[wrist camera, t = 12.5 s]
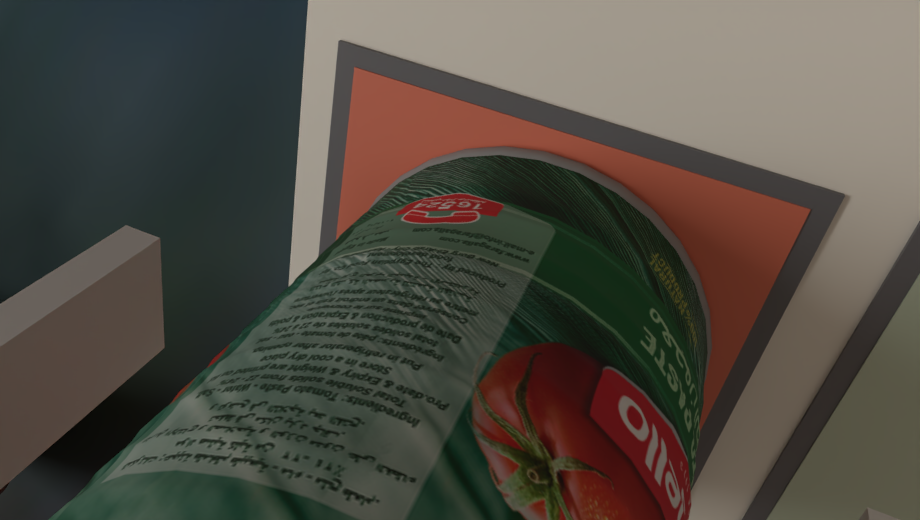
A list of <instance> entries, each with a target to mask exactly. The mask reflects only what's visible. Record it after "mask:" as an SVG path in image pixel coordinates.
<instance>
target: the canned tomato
mask: <svg viewBox="0 0 920 520" xmlns="http://www.w3.org/2000/svg"><path fill="white" fill-rule="evenodd" d="M711 350H712V338H711V321H710V309H709V306H708V302H707V299H706V296H705V292H704V289H703V286H702V282H701V279H700V276H699V273H698V272H697V270H696V268H695V266H694V264H693V263H692V261H691V259H690V257H689V255H688V254H687V252H686V250H685V248H684V246H683V245H682V243H681V241H680V240H679V239H678V237H677V236H676V235H675V234H674V233H673V232H672V230H671V229H670V228H669V227H668V226H667V225H666V223H665V222H664V221H663V220H662V219H661V218H660V216H659V215H658V214H657V213H656V212H655V211H654V210H653V209H652V208H651V207H650V206H648V205H647V204H646V203H645V202H643V201H642V200H641V199H640V198H638V197H637V196H636V195H635V194H633V193H632V192H631V191H630V190H628V189H627V188H626V187H625V186H623V185H622V184H621V183H619V182H617V181H615V180H613V179H611V178H609V177H608V176H606V175H604V174H602V173H600V172H598V171H596V170H595V169H593V168H591V167H589V166H587V165H585V164H583V163H580V162H577V161H574V160H571V159H567V158H564V157H561V156H558V155H555V154H552V153H549V152H546V151H540V150H532V149H524V148H516V147H508V146H497V147H482V148H468V149H463V150H460V151H456V152H453V153H449V154H446V155H442V156H439V157H435V158H432V159H430V160H428V161H426V162H425V163H423V164H421V165H419V166H417V167H415V168H414V169H412V170H410V171H408V172H406V173H404V174H403V175H401V176H400V177H399V178H398V179H396V180H395V181H394V182H393V183H392V184H391V185H390V186H389V187H388V188H386V189H385V190H384V191H383V192H382V193H381V194H380V195H379V196H378V197H377V198H376V199H375V201H374V202H373V204H372V205H371V207H370V208H369V210H368V211H367V212H366V213H364V214H363V215H362V216H361V217H360V218H359V219H358V220H357V221H355V222H354V223H353V224H352V225H351V226H350V227H349V228H348V229H347V230H345V231H344V232H343V233H342V234H341V235H340V236H339V237H338V239H337V240H336V241H335V242H334V243H333V244H332V245H330V246H329V247H328V248H327V249H326V250H325V251H324V252H323V253H322V254H320V255H319V256H318V258H317V259H316V261H315V262H313V263H312V264H311V265H310V266H309V267H308V268H307V269H306V270H305V271H303V272H302V273H301V274H300V275H299V276H298V277H297V278H296V279H295V281H294V282H293V283H292V284H291V285H290V286H289V287H288V288H287V289H285V290H284V291H283V292H282V293H281V294H280V295H279V296H278V297H277V298H275V299H274V300H273V301H272V302H271V303H270V305H269V307H268V308H267V309H266V310H264V311H263V312H262V313H261V314H260V315H259V316H258V317H257V318H255V319H254V320H253V321H252V322H251V323H250V324H249V325H248V326H247V327H245V328H244V329H243V331H242V332H241V334H240V335H239V336H238V337H237V338H236V339H235V340H234V341H233V342H231V343H230V344H229V345H228V346H227V347H226V348H225V349H224V350H222V351H221V352H220V353H219V354H218V355H217V356H216V357H215V358H213V360H212V361H211V363H210V364H209V366H208V367H207V368H206V369H204V370H203V371H202V372H201V373H200V374H199V375H198V376H197V377H195V378H194V379H193V380H192V381H191V382H190V383H189V384H187V385H186V386H185V387H184V388H183V389H182V390H181V391H180V392H179V393H178V394H177V396H176V397H175V398H174V400H173V401H172V402H171V403H170V404H169V405H168V406H167V407H166V408H164V409H163V410H162V411H161V412H160V413H159V414H158V415H156V416H155V417H154V418H153V419H152V420H151V421H150V422H148V423H147V424H146V425H145V426H144V427H143V428H142V429H140V431H139V432H138V433H137V435H136V436H135V437H134V439H133V440H132V441H131V442H130V443H129V445H128V446H127V447H126V448H125V449H123V450H122V451H120V452H119V453H118V454H117V455H116V456H115V457H114V458H112V459H111V460H110V461H109V462H108V463H107V464H105V465H104V466H103V467H102V468H101V469H100V470H99V471H97V472H96V473H95V475H94V476H93V477H92V479H91V480H90V481H89V483H88V484H87V485H86V486H85V487H84V488H83V490H82V491H81V492H80V493H79V494H78V495H77V496H76V497H75V498H74V499H72V500H71V501H70V502H68V503H67V504H66V505H65V506H64V507H62V508H61V509H60V510H59V511H58V512H57V513H55V514H54V515H53V516H52V517H51V518H50V519H48V520H688V519H689V514H690V509H691V489H692V484H693V479H694V474H695V469H696V462H695V456H696V451H697V446H698V441H699V436H700V428H699V424H700V419H701V414H702V409H703V404H704V383H705V380H706V376H707V371H708V366H709V360H710V355H711Z"/></svg>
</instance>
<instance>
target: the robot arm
mask: <svg viewBox="0 0 920 520" xmlns="http://www.w3.org/2000/svg"><path fill="white" fill-rule="evenodd" d="M164 348H165V347H164V323H163V299H162V275H161V251H160V238H158V237H156V236H153V235H150V234H148V233H145V232H143V231H140V230H137V229H135V228H132V227H129V226H127V225H126V226H124V227H123V228H121V229H119V230H118V231H116V232H115V233H113V234H111V235H110V236H108V237H107V238H105V239H103V240H102V241H100V242H99V243H97V244H95V245H94V246H92V247H91V248H89V249H87V250H86V251H84V252H83V253H81V254H79V255H78V256H76V257H75V258H73V259H71V260H70V261H68V262H67V263H65V264H63V265H62V266H60V267H59V268H57V269H55V270H54V271H52V272H50V273H49V274H47V275H46V276H44V277H42V278H41V279H39V280H38V281H36V282H34V283H33V284H31V285H30V286H28V287H26V288H25V289H23V290H22V291H20V292H18V293H17V294H15V295H14V296H12V297H10V298H9V299H7V300H6V301H4V302H2V303H1V304H0V489H2V488H3V487H4V486H5V485H6V484H7V483H9V482H10V481H11V480H12V479H13V478H14V477H15V476H17V475H18V474H19V473H20V472H21V471H22V470H24V469H25V468H26V467H27V466H28V465H29V464H31V463H32V462H33V461H34V460H35V459H36V458H37V457H39V456H40V455H41V454H42V453H43V452H44V451H46V450H47V449H48V448H49V447H50V446H51V445H53V444H54V443H55V442H56V441H57V440H58V439H59V438H61V437H62V436H63V435H64V434H65V433H66V432H68V431H69V430H70V429H71V428H72V427H73V426H75V425H76V424H77V423H78V422H79V421H80V420H81V419H83V418H84V417H85V416H86V415H87V414H88V413H90V412H91V411H92V410H93V409H94V408H95V407H97V406H98V405H99V404H100V403H101V402H102V401H103V400H105V399H106V398H107V397H108V396H109V395H110V394H112V393H113V392H114V391H115V390H116V389H117V388H119V387H120V386H121V385H122V384H123V383H124V382H126V381H127V380H128V379H129V378H130V377H131V376H132V375H134V374H135V373H136V372H137V371H138V370H139V369H141V368H142V367H143V366H144V365H145V364H146V363H148V362H149V361H150V360H151V359H152V358H153V357H154V356H156V355H157V354H158V353H159V352H160V351H161V350H163V349H164ZM859 520H900V519H897V518H894V517H892V516H889V515H886V514H884V513H881V512H879V511H876V510H873V509H871V508H868V507H867V509H866V510H865V512H864V513H863V514H862V516H861V517H860V518H859Z"/></svg>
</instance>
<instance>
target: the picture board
mask: <svg viewBox="0 0 920 520" xmlns="http://www.w3.org/2000/svg"><path fill="white" fill-rule="evenodd" d="M497 146H508V147H516V148H524V149H532V150H540V151H546V152H549V153H552V154H555V155H558V156H561V157H564V158H567V159H571V160H574V161H577V162H580V163H583V164H585V165H587V166H589V167H591V168H593V169H595V170H596V171H598V172H600V173H602V174H604V175H606V176H608V177H609V178H611V179H613V180H615V181H617V182H619V183H621V184H622V185H623V186H625V187H626V188H627V189H628V190H630V191H631V192H632V193H633V194H635V195H636V196H637V197H638V198H640V199H641V200H642V201H643V202H645V203H646V204H647V205H648V206H650V207H651V208H652V209H653V210H654V211H655V212H656V213H657V214H658V215H659V216H660V218H661V219H662V220H663V221H664V222H665V223H666V225H667V226H668V227H669V228H670V229H671V230H672V232H673V233H674V234H675V235H676V236H677V237H678V239H679V240H680V241H681V243H682V245H683V246H684V248H685V250H686V252H687V254H688V255H689V257H690V259H691V261H692V263H693V264H694V266H695V268H696V270H697V272H698V273H699V276H700V279H701V282H702V286H703V289H704V292H705V296H706V299H707V302H708V306H709V309H710V321H711V338H712V350H711V355H710V360H709V366H708V371H707V376H706V380H705V383H704V404H703V409H702V414H701V419H700V424H699V428H700V436H699V441H698V446H697V451H696V456H695V462H696V469H695V474H694V479H693V484H692V489H691V509H690V514H689V519H688V520H859V518H860V517H861V516H862V514H863V513H864V512H865V510H866V509H867V507H868V508H871V509H873V510H876V511H879V512H881V513H884V514H886V515H889V516H892V517H894V518H897V519H900V520H920V0H308V13H307V27H306V42H305V56H304V71H303V85H302V100H301V114H300V129H299V143H298V158H297V172H296V187H295V201H294V216H293V230H292V245H291V259H290V274H289V286H290V285H291V284H292V283H293V282H294V281H295V279H296V278H297V277H298V276H299V275H300V274H301V273H302V272H303V271H305V270H306V269H307V268H308V267H309V266H310V265H311V264H312V263H313V262H315V261H316V259H317V258H318V256H319V255H320V254H322V253H323V252H324V251H325V250H326V249H327V248H328V247H329V246H330V245H332V244H333V243H334V242H335V241H336V240H337V239H338V237H339V236H340V235H341V234H342V233H343V232H344V231H345V230H347V229H348V228H349V227H350V226H351V225H352V224H353V223H354V222H355V221H357V220H358V219H359V218H360V217H361V216H362V215H363V214H364V213H366V212H367V211H368V210H369V208H370V207H371V205H372V204H373V202H374V201H375V199H376V198H377V197H378V196H379V195H380V194H381V193H382V192H383V191H384V190H385V189H386V188H388V187H389V186H390V185H391V184H392V183H393V182H394V181H395V180H396V179H398V178H399V177H400V176H401V175H403V174H404V173H406V172H408V171H410V170H412V169H414V168H415V167H417V166H419V165H421V164H423V163H425V162H426V161H428V160H430V159H432V158H435V157H439V156H442V155H446V154H449V153H453V152H456V151H460V150H463V149H468V148H482V147H497Z"/></svg>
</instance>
